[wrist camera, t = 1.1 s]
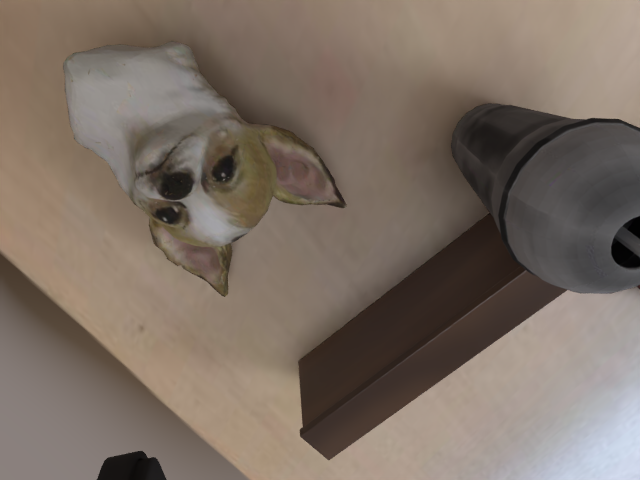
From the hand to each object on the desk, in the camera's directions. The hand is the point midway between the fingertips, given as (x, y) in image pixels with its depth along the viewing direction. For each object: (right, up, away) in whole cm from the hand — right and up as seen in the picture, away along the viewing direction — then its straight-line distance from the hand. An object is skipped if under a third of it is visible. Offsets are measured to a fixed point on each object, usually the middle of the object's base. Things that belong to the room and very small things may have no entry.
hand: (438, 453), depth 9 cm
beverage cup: (+8, +10, +25) cm, 28 cm away
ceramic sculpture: (-9, +9, +24) cm, 27 cm away
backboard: (+5, +1, +28) cm, 28 cm away
